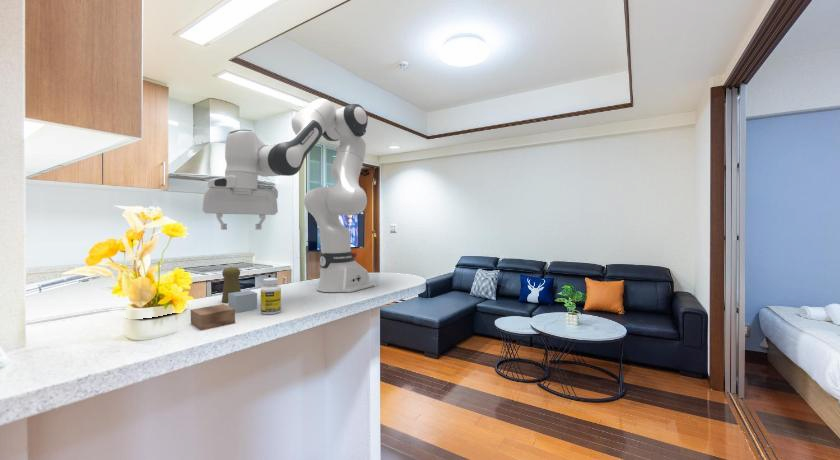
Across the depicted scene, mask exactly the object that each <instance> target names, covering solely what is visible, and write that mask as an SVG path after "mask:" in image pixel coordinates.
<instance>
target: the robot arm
mask: <svg viewBox="0 0 840 460" xmlns="http://www.w3.org/2000/svg"><path fill="white" fill-rule="evenodd" d="M368 119H369V117H368V114H367V111H366V110H365V108H364V107H363V106H362V105H361V104H359V103H351V104H347V105H346V106H343V107H340V108H338V109H336V108H335V106H334V104H333V103H332V102H331V101H329V99H326V98H321V97H320V98H317V99H315V100H313V101H310V102H309V103H308V104H306V105H304V106H303V107H302V108H300V109H299V110H298V111H297V112H296V113H295V115H294V116H293V117H292V119H291V127H292V131H293V132H294V134H295V135H294V137H293V138H292V139H291V140H288V141H285V142H280V143H277V144H271V145H269V144H267V143H265V142H264V141H263V140H262V139H260V138H259V137H258V135H257V133H256V131H254V130H250V129H236V130H233V131H229V133H227V136H226V139H225V146H224V147H225V148H224V149H225V150H224V151H225V152H224V158H225V162H226V167H225V171H224V176H222V177H221V176H220V177H217V178H213V179H210V180H208V181H207V187H208V188H207V190H206V191H205V192H204V195H203V201H202V211H203V213H204V214H211V215H213V214H214V215H216V216H215V217H216V219H217V221H218V222H219V224H220V230H223V231H224V230H228V223H224V221H223V220H222V218H223V215H252V216H253V215H254V216H255V215H258V216H259V219H260V220H259V221H258V223H255V230H258V231H259V230H260V231H261V230H262V229H263V228H262V224H263V223H264V221H265V220H266V215H267V216H268V215H269V216H275V215H277V213H278V211H279V210H278V209H279V208H278V201H277V199H278V197H279V190H278V189H277V188H276V187H274V185H265V184H259V183H258V182H259V180H258V179H259V177H279V176H281V177H282V176H286V177H287V176H289V177H290V176H291V177H292V176H294V175H296V174H298V173H299V171H300V170H301V168H302V166H303V163H304V161H305V160H306V157H307V155H308V154H309V153H310V151H312V149H313V148H314V147H315V145H316V144H317V143H318V142H319V140H320V139H321V137H323V138H324V139H325V140H326V141H329V142H337V141H339V147H338V150H337V151H336V154H335V156H334V159H333V162H332V166H331V168H330V173H331V176H332V178H333V179H334V180H335V181H336V183H335V185H334V186H320V187H315V188H312V189H310V190H307V192H306V193H305V195H304V200H303V203H304V204H303V205H304V207H305V209H306V211H307V212H308V213H309V214H311V216H312V217H313V218H314V220H315V222H316V224H317V227H318V230H319V238H320V253H319V265H320V266H319V267H320V271H319V281H318V285H317V287H316V291H318V292H324V293H353V292H356V291H360V290H364V289H368V288H372V287H375V286H376V283H375V282H374V281H370V276H369V272H368V270H367V269H366V268H364V267H363V266H362V265H361V264H360V263H358V262H357V261H356V259H355V258H357V259H358V258H359V252H356V251H354V252H352V249H351V246H352V245H351V231H350V229H349V228H348V227H346V226H344V225H343V224H342V222H341V220H340V216H353V215H358V214H361V213H363V212H364V210H365V209H366V207H367V203H368V197H367V195H366V192H365V190H364V189H363V188H362V187H360V183H359V182H360V181H359V178H360V174H361V170H362V167H363V164H364V161H365V158H366V157H365V156H366V149H367V145H366V142H365V140H364V139H363V136H364V135H365V134H366V133H367V128H368V122H369V121H368Z"/></svg>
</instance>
